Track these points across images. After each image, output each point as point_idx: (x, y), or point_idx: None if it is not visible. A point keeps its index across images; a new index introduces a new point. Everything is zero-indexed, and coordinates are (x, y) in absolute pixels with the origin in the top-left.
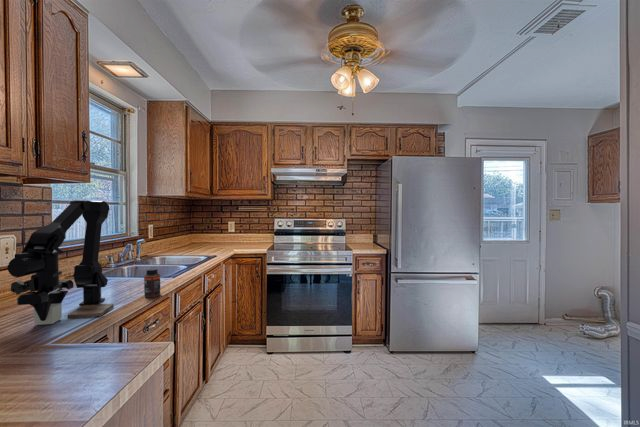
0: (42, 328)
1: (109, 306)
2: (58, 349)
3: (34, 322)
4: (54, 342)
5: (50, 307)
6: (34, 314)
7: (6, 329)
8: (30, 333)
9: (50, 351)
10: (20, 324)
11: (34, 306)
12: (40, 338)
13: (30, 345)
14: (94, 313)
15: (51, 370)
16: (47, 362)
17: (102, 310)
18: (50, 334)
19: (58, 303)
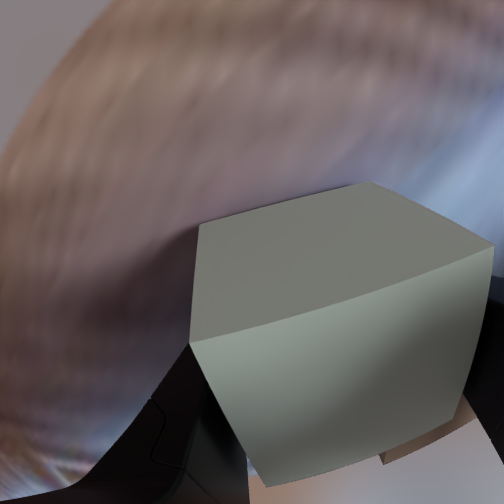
0: (166, 333)
1: (473, 418)
2: (47, 488)
3: (198, 237)
4: (65, 470)
5: (300, 462)
6: (194, 290)
7: (101, 20)
8: (68, 327)
9: (29, 478)
10: (242, 22)
11: (97, 489)
12: (55, 420)
13: (5, 421)
14: (385, 451)
15: (3, 494)
16: (6, 485)
17: (423, 443)
18: (106, 432)
19: (456, 403)
